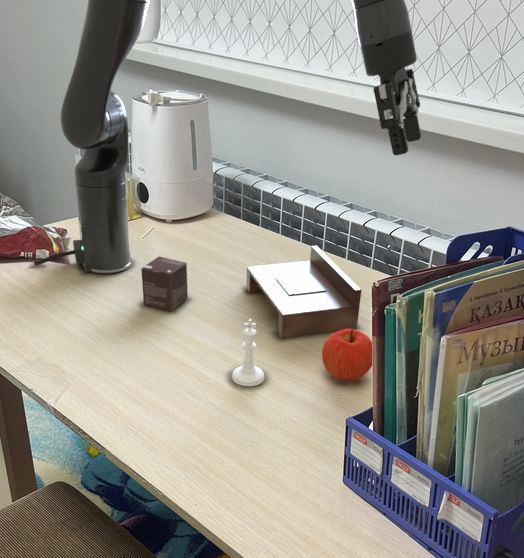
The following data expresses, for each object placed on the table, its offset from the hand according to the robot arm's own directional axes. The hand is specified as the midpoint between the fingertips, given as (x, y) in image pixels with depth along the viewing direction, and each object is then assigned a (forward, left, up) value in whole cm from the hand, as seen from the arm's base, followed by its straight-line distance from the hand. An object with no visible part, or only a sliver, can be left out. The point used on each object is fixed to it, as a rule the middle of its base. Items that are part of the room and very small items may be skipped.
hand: (408, 147), depth 106 cm
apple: (-13, -13, -31) cm, 36 cm away
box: (-35, +18, -31) cm, 50 cm away
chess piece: (-28, -10, -31) cm, 43 cm away
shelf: (-12, +10, -31) cm, 35 cm away
